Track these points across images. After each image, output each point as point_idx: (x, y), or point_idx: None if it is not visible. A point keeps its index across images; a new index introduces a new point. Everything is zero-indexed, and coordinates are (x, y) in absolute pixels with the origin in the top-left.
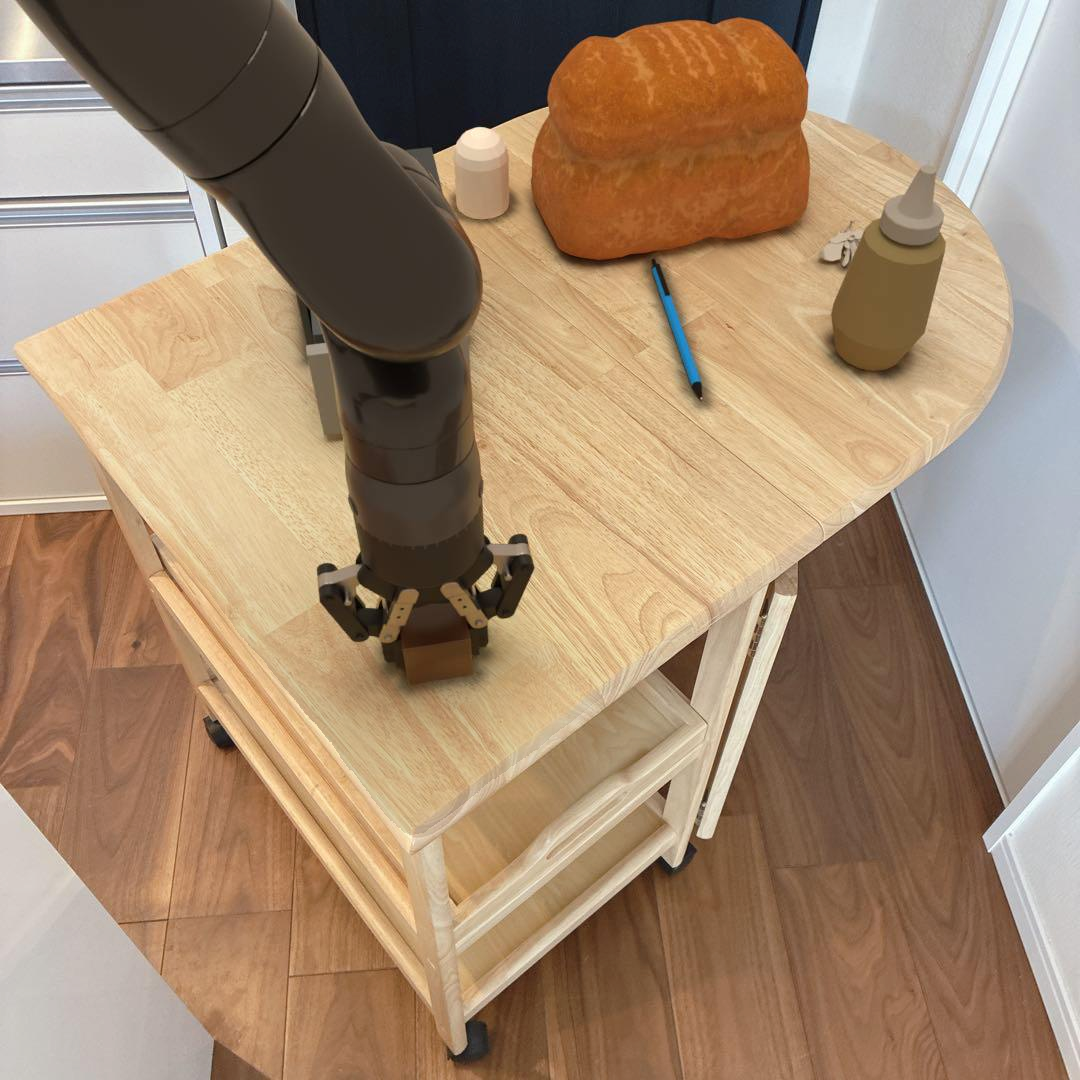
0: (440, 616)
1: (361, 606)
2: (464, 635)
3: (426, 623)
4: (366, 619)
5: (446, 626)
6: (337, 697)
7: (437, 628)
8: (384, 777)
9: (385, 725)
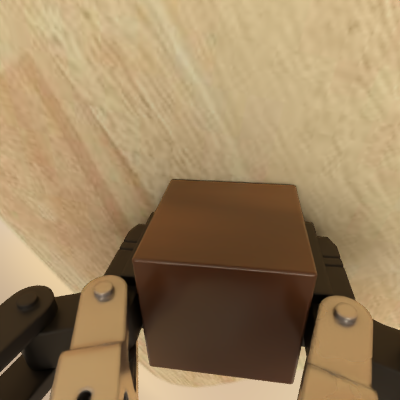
0: (239, 332)
1: (33, 334)
2: (282, 376)
3: (203, 338)
4: (53, 356)
5: (248, 353)
6: (74, 260)
7: (227, 351)
8: (142, 353)
9: None
